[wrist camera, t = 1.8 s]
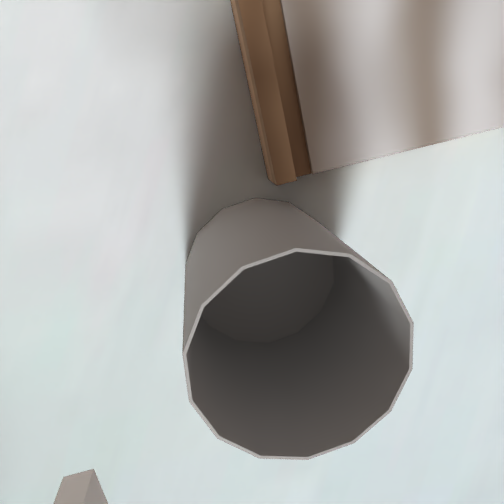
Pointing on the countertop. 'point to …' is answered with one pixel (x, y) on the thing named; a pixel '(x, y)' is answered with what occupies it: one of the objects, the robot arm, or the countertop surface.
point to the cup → (289, 334)
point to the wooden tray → (368, 77)
